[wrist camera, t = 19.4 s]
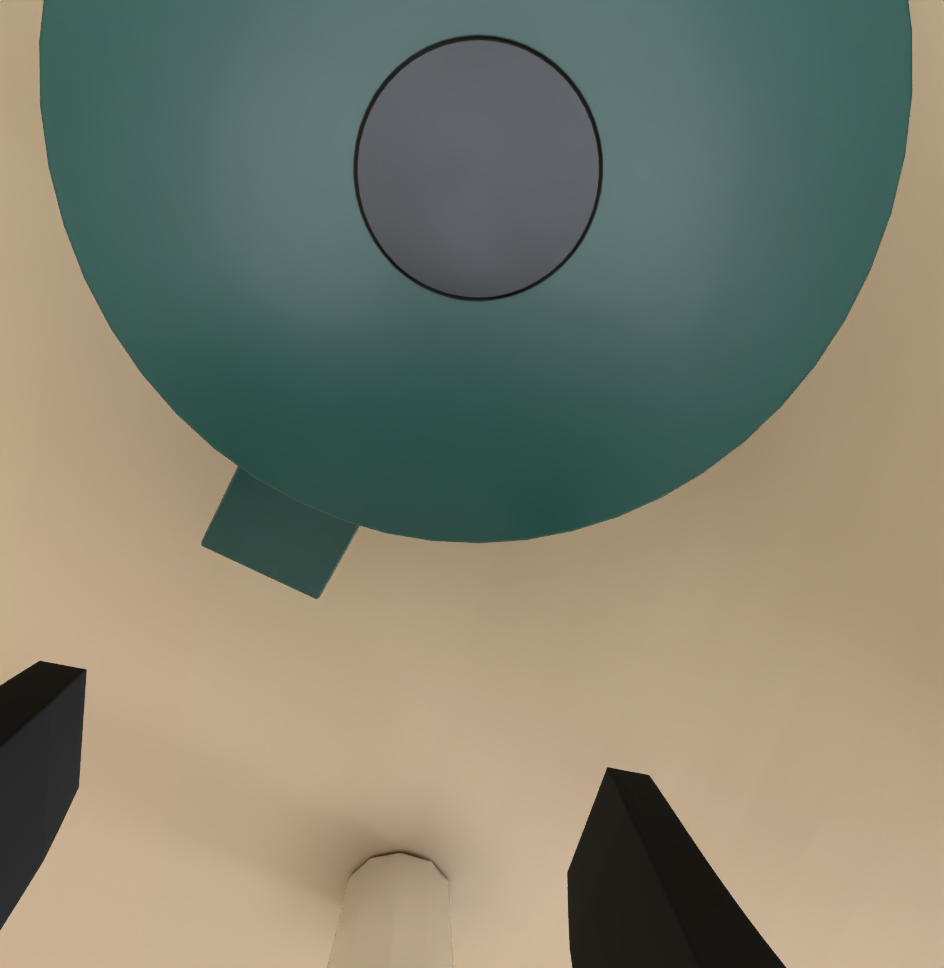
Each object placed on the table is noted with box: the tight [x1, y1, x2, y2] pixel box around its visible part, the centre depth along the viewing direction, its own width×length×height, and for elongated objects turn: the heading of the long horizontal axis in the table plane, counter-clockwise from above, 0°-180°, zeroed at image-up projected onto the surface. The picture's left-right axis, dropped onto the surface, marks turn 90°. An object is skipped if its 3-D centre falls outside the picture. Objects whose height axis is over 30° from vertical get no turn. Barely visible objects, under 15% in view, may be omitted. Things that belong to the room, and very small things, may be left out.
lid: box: [39, 0, 912, 543], centre depth 10 cm, size 12×12×5 cm
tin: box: [201, 466, 360, 599], centre depth 15 cm, size 11×17×6 cm
